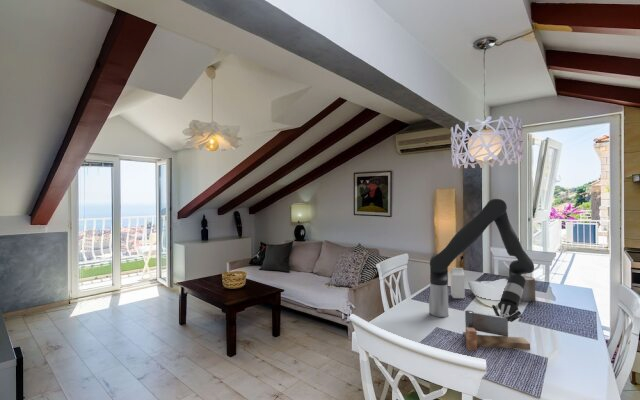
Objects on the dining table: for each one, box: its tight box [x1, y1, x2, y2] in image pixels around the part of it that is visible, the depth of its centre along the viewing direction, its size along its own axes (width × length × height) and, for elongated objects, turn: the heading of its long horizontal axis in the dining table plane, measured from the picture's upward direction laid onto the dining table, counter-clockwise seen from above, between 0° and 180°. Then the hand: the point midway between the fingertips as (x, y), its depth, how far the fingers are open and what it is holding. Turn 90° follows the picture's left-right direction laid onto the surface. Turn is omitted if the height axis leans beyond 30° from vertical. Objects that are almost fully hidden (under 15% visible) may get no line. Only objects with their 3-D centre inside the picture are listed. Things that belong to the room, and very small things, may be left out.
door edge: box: [462, 326, 531, 351], centre depth 140 cm, size 26×18×8 cm
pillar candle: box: [520, 275, 536, 302], centre depth 198 cm, size 10×10×15 cm
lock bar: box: [464, 310, 509, 337], centre depth 144 cm, size 17×4×10 cm, turn 57°
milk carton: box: [450, 267, 466, 299], centre depth 205 cm, size 7×7×19 cm
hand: (500, 327), depth 142 cm, fingers closed
